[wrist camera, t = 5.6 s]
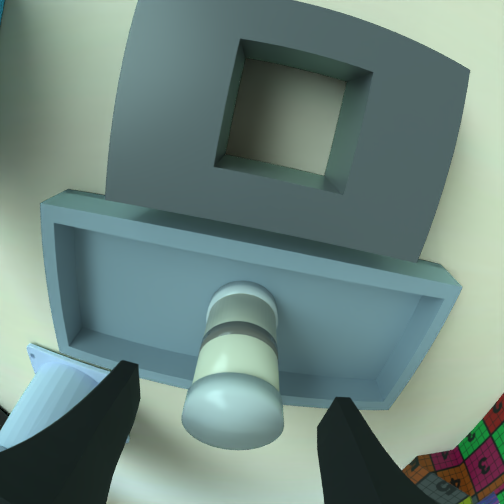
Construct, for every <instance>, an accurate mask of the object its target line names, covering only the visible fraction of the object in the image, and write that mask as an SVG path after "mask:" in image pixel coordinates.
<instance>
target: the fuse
mask: <svg viewBox="0 0 504 504" xmlns="http://www.w3.org/2000/svg"><path fill="white" fill-rule="evenodd" d="M206 322H207V324H206V328H205V332H204V336H203V339H202V342H201V346H200V351H199V355H198V361H197V365H196V370H195V374H194V378H193V383H192V385H191V386H190V388H189V389H188V392H187V396H186V400H185V404H184V408H183V413H182V424H183V426H184V428H185V429H186V430H187V432H188V433H189V434H190V435H192V436H193V437H194V438H196V439H197V440H199V441H201V442H203V443H205V444H208V445H210V446H213V447H217V448H222V449H228V450H249V449H255V448H259V447H262V446H265V445H267V444H270V443H271V442H273V441H274V440H276V439H277V438H278V437H279V436H280V435H281V433H282V431H283V428H284V418H283V401H282V397H281V395H280V393H279V372H278V364H279V362H278V347H277V332H276V329H277V326H278V313H277V304H276V301H275V298H274V297H273V295H272V294H271V293H270V292H269V291H268V290H267V289H266V288H265V287H263V286H261V285H260V284H257V283H255V282H251V281H233V282H229V283H227V284H225V285H223V286H221V287H220V288H218V289H217V290H216V291H215V293H214V294H213V295H212V297H211V300H210V303H209V307H208V311H207V315H206Z"/></svg>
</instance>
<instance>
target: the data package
mask: <svg viewBox="0 0 504 504" xmlns="http://www.w3.org/2000/svg"><path fill="white" fill-rule="evenodd" d="M4 1H5V0H0V24H1V18H2V12H3V6H4Z"/></svg>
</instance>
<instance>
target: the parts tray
mask: <svg viewBox="0 0 504 504" xmlns="http://www.w3.org/2000/svg"><path fill="white" fill-rule="evenodd" d="M40 212H41V231H42V245H43V256H44V265H45V274H46V281H47V288H48V295H49V301H50V307H51V313H52V318H53V323H54V328H55V333H56V338H57V342H58V346H59V351H60V353H63V354H66V355H69V356H71V357H74V358H77V359H80V360H83V361H86V362H89V363H92V364H95V365H98V366H101V367H104V368H108V369H111V370H113V368H114V367H115V366H116V365H117V364H118V363H119V362H120V361H121V360H125V361H129V362H133V363H136V364H139V378H143V379H147V380H150V381H154V382H158V383H163V384H167V385H171V386H175V387H180V388H184V389H189V388H190V386H191V385H192V383H193V378H194V374H195V370H196V365H197V361H198V355H199V351H200V346H201V342H202V339H203V336H204V332H205V328H206V324H207V322H206V315H207V311H208V307H209V303H210V300H211V297H212V295H213V294H214V293H215V291H216V290H217V289H218V288H220V287H221V286H223V285H225V284H227V283H229V282H233V281H251V282H255V283H257V284H260V285H261V286H263V287H265V288H266V289H267V290H268V291H269V292H270V293H271V294H272V295H273V297H274V298H275V301H276V304H277V313H278V326H277V329H276V332H277V347H278V362H279V364H278V372H279V393H280V395H281V397H282V401H283V405H293V406H303V407H316V408H329V407H330V405H331V404H332V402H333V400H334V399H335V397H350V398H351V399H352V401H353V402H354V404H355V405H356V407H357V408H358V410H389V408H390V407H391V406H392V404H393V403H394V402H395V400H396V399H397V397H398V396H399V395H400V393H401V392H402V390H403V389H404V387H405V386H406V385H407V383H408V382H409V380H410V379H411V377H412V376H413V374H414V373H415V371H416V370H417V368H418V366H419V365H420V363H421V362H422V360H423V358H424V357H425V355H426V354H427V352H428V350H429V349H430V347H431V345H432V344H433V342H434V340H435V339H436V337H437V335H438V333H439V332H440V330H441V328H442V326H443V324H444V323H445V321H446V319H447V317H448V315H449V313H450V311H451V309H452V307H453V306H454V304H455V302H456V300H457V298H458V296H459V294H460V291H461V289H462V286H461V285H460V284H459V283H458V282H457V281H456V280H455V279H454V278H453V277H452V275H451V274H450V273H449V272H448V271H447V270H446V269H445V268H444V267H443V266H442V265H441V264H437V263H433V262H429V261H425V260H421V259H418V261H417V263H413V262H409V261H405V260H400V259H396V258H392V257H387V256H383V255H378V254H374V253H369V252H365V251H360V250H356V249H351V248H347V247H342V246H338V245H333V244H328V243H324V242H319V241H314V240H310V239H305V238H300V237H295V236H291V235H286V234H281V233H276V232H271V231H266V230H261V229H256V228H251V227H246V226H241V225H236V224H231V223H226V222H221V221H216V220H211V219H206V218H200V217H195V216H190V215H185V214H179V213H174V212H168V211H163V210H158V209H152V208H147V207H141V206H135V205H130V204H124V203H119V202H113V201H107V200H105V195H101V194H95V193H89V192H83V191H77V190H70V189H67V190H65V191H63V192H61V193H59V194H57V195H55V196H53V197H51V198H49V199H47V200H45V201H43V202H42V203H40Z"/></svg>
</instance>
